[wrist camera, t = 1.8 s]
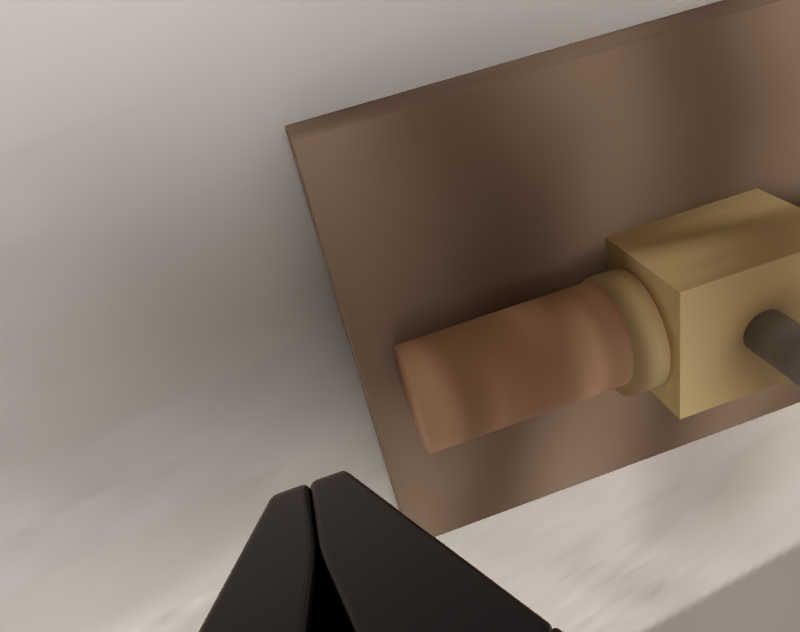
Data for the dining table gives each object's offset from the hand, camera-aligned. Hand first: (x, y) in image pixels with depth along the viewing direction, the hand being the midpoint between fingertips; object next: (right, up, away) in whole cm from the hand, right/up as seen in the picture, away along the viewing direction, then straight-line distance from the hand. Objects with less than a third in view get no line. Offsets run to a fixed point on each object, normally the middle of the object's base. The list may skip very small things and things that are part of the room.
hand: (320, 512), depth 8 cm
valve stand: (+9, +4, +15) cm, 18 cm away
